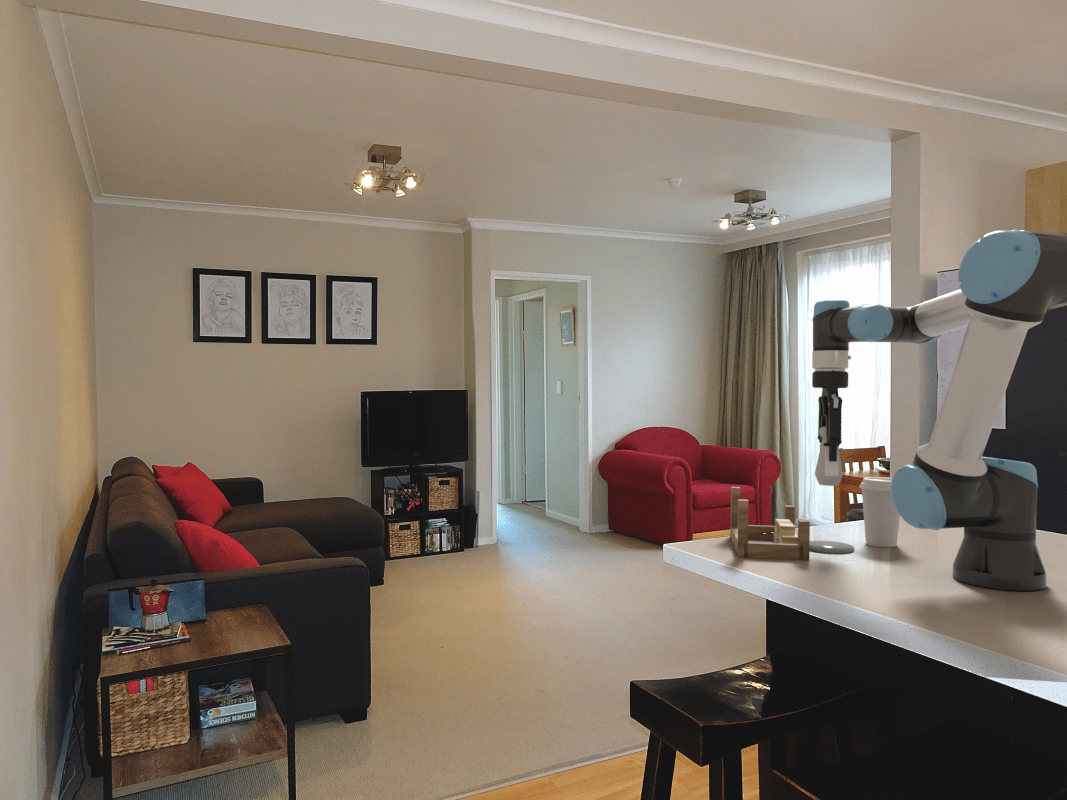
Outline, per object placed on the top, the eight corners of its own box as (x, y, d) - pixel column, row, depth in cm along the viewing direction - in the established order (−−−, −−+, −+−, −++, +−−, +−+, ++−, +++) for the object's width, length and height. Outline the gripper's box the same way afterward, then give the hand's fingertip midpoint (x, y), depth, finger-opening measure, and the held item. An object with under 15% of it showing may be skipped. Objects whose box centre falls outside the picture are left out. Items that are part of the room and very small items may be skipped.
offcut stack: (798, 555, 168) (798, 529, 168) (782, 554, 168) (782, 528, 168) (788, 542, 181) (789, 518, 181) (773, 541, 182) (774, 517, 182)
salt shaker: (812, 485, 174) (813, 426, 173) (816, 482, 179) (817, 425, 178) (840, 487, 171) (841, 427, 171) (844, 484, 176) (844, 426, 176)
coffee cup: (911, 549, 175) (913, 482, 175) (868, 548, 175) (869, 481, 175) (893, 540, 185) (894, 476, 184) (852, 539, 185) (853, 476, 184)
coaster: (859, 554, 169) (859, 551, 169) (806, 552, 171) (806, 549, 171) (848, 544, 180) (848, 541, 180) (798, 542, 182) (798, 539, 182)
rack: (809, 560, 164) (810, 502, 163) (738, 557, 166) (738, 500, 166) (793, 539, 185) (793, 488, 185) (730, 536, 188) (730, 486, 187)
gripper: (858, 369, 164) (856, 480, 165) (839, 370, 183) (837, 469, 183) (820, 369, 166) (818, 479, 166) (805, 370, 184) (804, 469, 185)
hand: (828, 474), depth 175 cm, fingers closed on salt shaker, 6 cm apart
